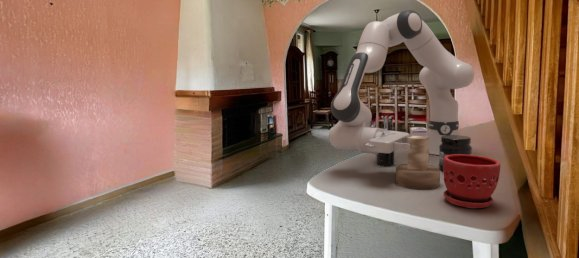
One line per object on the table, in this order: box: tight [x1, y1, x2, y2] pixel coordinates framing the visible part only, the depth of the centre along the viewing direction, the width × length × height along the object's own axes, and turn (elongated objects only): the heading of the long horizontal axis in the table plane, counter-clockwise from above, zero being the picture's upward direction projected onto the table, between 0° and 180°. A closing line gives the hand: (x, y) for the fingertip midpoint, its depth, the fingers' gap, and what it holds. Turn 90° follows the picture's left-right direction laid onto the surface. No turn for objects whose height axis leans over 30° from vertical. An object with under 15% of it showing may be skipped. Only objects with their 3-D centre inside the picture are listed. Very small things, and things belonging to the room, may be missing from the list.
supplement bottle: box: [375, 151, 395, 167], centre depth 132 cm, size 7×7×12 cm
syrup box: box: [409, 126, 429, 137], centre depth 128 cm, size 6×6×14 cm
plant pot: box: [442, 154, 502, 209], centre depth 89 cm, size 13×13×12 cm
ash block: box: [407, 136, 430, 171], centre depth 107 cm, size 5×5×10 cm
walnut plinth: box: [395, 163, 441, 191], centre depth 108 cm, size 13×13×5 cm
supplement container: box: [438, 135, 473, 174], centre depth 121 cm, size 10×10×12 cm
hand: (415, 144), depth 107 cm, fingers open, 8 cm apart
